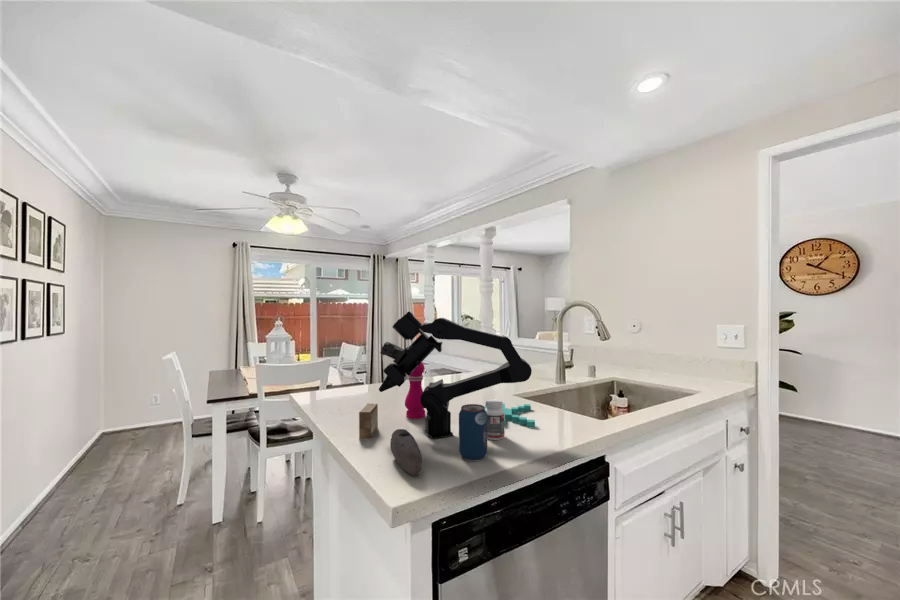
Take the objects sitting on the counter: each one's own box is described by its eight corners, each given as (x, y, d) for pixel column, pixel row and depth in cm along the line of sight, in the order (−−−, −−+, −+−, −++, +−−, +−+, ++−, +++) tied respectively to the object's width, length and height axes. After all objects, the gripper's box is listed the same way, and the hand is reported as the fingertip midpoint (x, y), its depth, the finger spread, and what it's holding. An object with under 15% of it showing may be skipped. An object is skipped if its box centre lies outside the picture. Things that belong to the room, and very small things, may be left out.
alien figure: (530, 410, 133) (473, 408, 136) (530, 404, 133) (473, 402, 136) (535, 429, 114) (468, 427, 116) (535, 422, 114) (468, 419, 116)
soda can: (491, 460, 91) (491, 409, 91) (464, 463, 89) (463, 412, 89) (481, 449, 97) (480, 402, 97) (455, 452, 95) (455, 404, 95)
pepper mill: (404, 413, 129) (404, 354, 129) (426, 412, 130) (425, 354, 130) (404, 420, 122) (404, 357, 122) (427, 419, 123) (426, 357, 123)
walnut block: (378, 428, 114) (378, 403, 114) (370, 439, 105) (370, 412, 105) (367, 428, 114) (367, 403, 114) (359, 439, 105) (359, 412, 105)
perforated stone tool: (429, 479, 81) (428, 447, 81) (405, 484, 79) (404, 450, 79) (409, 453, 95) (409, 426, 95) (388, 457, 93) (388, 428, 93)
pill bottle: (506, 440, 104) (506, 403, 104) (485, 441, 103) (485, 404, 103) (502, 433, 109) (501, 398, 109) (482, 433, 109) (482, 399, 109)
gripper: (403, 330, 119) (368, 365, 119) (390, 335, 100) (350, 377, 101) (428, 355, 118) (393, 390, 119) (421, 365, 100) (379, 407, 100)
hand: (379, 390), depth 110 cm, fingers closed
